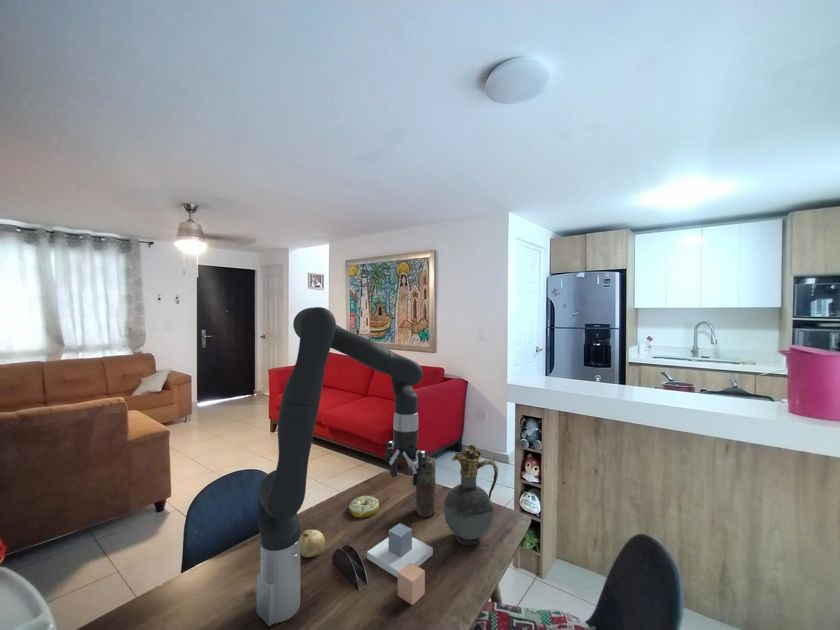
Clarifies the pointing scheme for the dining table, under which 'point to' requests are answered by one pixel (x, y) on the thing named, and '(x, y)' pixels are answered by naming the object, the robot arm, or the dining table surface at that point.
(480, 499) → the pitcher
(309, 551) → the onion
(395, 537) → the slate block
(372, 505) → the decorated donut
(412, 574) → the peach block
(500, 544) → the dining table surface
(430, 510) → the brown cylinder
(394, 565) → the white flat square slab
